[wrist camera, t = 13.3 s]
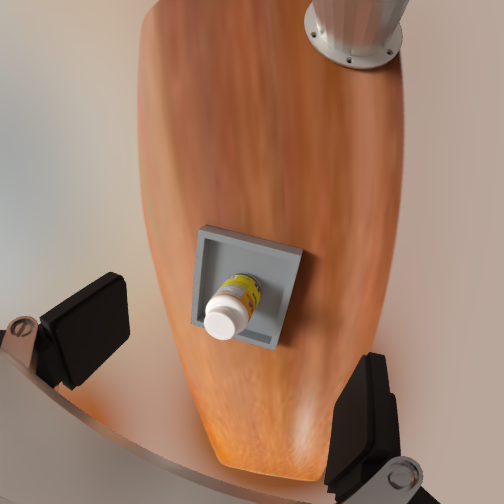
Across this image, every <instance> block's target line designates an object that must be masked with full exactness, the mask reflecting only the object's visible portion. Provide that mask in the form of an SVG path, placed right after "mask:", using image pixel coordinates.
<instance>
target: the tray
mask: <svg viewBox="0 0 504 504" xmlns="http://www.w3.org/2000/svg"><path fill="white" fill-rule="evenodd" d="M302 252H303V249H300V248H296V247H292V246H288V245H285V244H281V243H277V242H273V241H269V240H265V239H261V238H257V237H254V236H250V235H246V234H242V233H238V232H234V231H230V230H226V229H222V228H218V227H214V226H210V225H205V226H203V227H202V228H200V229H199V231H198V241H197V251H196V262H195V273H194V285H193V298H192V313H191V324H194V325H196V326H199V327H202V328H205V326H204V319H205V317H206V313H205V311H206V306H207V304H208V302H209V301H210V299H211V298H212V297H213V296H214V295H215V293H216V292H217V291H218V290H219V289H220V287H221V286H222V285H223V284H224V283H225V281H226V280H227V279H228V278H229V277H230V276H231V275H233V274H235V273H247V274H250V275H252V276H253V277H255V278H256V279H257V280H258V282H259V284H260V286H261V289H262V296H261V299H260V301H259V303H258V305H257V307H256V309H255V311H254V313H253V315H252V317H251V318H250V320H249V322H248V324H247V326H246V328H245V329H244V330H243V331H242V332H240V333H238V334H234V336H233V337H232V338H234V339H238V340H241V341H244V342H247V343H250V344H253V345H257V346H260V347H263V348H267V349H270V350H274V351H275V349H276V346H277V343H278V340H279V336H280V333H281V330H282V326H283V323H284V319H285V316H286V312H287V309H288V305H289V301H290V298H291V294H292V290H293V287H294V283H295V279H296V275H297V272H298V268H299V264H300V260H301V256H302Z"/></svg>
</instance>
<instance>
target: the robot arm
mask: <svg viewBox="0 0 504 504" xmlns="http://www.w3.org/2000/svg"><path fill="white" fill-rule="evenodd" d="M408 2H409V0H312V3H311V4H310V6H309V7H308V9H307V11H306V14H305V20H304V25H305V30H306V34H307V36H308V39H309V40H310V42H311V44H312V45H313V46H314V48H315V49H316V50H317V51H318V52H319V53H320V54H322V55H323V56H324V57H325V58H327V59H329V60H330V61H332V62H334V63H336V64H339V65H341V66H344V67H348V68H353V69H372V68H377V67H380V66H382V65H385V64H387V63H388V62H389V61H391V60H392V59H393V58H394V57H395V56H396V54H397V53H398V51H399V50H400V47H401V44H402V29H401V26H400V23H399V21H400V19H401V16H402V15H403V13H404V11H405V9H406V6H407V4H408ZM313 36H316V38H313ZM387 53H390V55H388V54H387ZM347 61H351V63H348V62H347ZM40 321H41V324H39V325H38V323H37V321H36V320H35V319H34V318H32V317H29V316H21V317H18V318H16V319H14V320H13V321H12V322H11V323H9V325H8V327H7V330H0V504H310V503H305V502H300V501H294V500H290V499H285V498H280V497H276V496H272V495H268V494H264V493H260V492H256V491H253V490H249V489H246V488H242V487H239V486H235V485H232V484H229V483H226V482H223V481H220V480H217V479H214V478H212V477H209V476H206V475H204V474H201V473H198V472H196V471H193V470H190V469H188V468H186V467H183V466H181V465H179V464H176V463H174V462H172V461H170V460H168V459H166V458H163V457H161V456H159V455H157V454H155V453H153V452H151V451H149V450H147V449H145V448H143V447H141V446H139V445H138V444H136V443H134V442H132V441H130V440H128V439H127V438H125V437H123V436H121V435H120V434H118V433H116V432H115V431H113V430H111V429H110V428H108V427H106V426H105V425H103V424H102V423H100V422H98V421H97V420H95V419H94V418H92V417H91V416H89V415H88V414H86V413H85V412H84V411H82V410H81V409H79V408H78V407H76V406H75V405H74V404H72V403H71V402H70V401H68V400H67V399H66V398H64V397H63V396H62V395H60V394H59V393H58V392H59V383H60V382H61V381H62V383H63V384H64V385H65V386H66V387H68V388H69V389H70V390H73V389H74V388H75V387H76V386H80V385H81V384H83V383H84V382H85V380H87V379H88V378H89V377H90V376H91V375H92V374H93V373H94V372H95V370H97V369H98V367H100V366H101V365H102V364H103V363H104V362H105V361H106V360H107V359H108V358H109V357H110V356H111V355H112V354H113V353H114V352H115V351H116V350H117V349H118V348H119V347H120V346H121V345H122V344H123V343H124V342H125V341H126V340H127V339H128V338H129V335H130V326H129V315H128V303H127V288H126V282H125V281H124V278H123V277H122V276H121V275H118V274H116V273H113V272H108V273H107V274H105V275H103V276H102V277H100V278H99V279H97V280H95V281H94V282H92V283H91V284H89V285H88V286H86V287H84V288H83V289H81V290H80V291H79V292H77V293H75V294H74V295H72V296H71V297H69V298H67V299H66V300H64V301H63V302H62V303H60V304H58V305H57V306H55V307H54V308H53V309H51V310H50V311H48V312H47V313H45V314H44V315H42V316H41V317H40ZM399 436H400V435H399V423H398V413H397V404H396V398H395V395H394V394H393V393H390V388H389V380H388V373H387V366H386V359H385V356H384V355H381V354H376V353H372V352H369V353H368V354H367V356H366V355H363V356H362V357H361V359H360V361H359V363H358V364H357V366H356V368H355V370H354V372H353V374H352V375H351V377H350V379H349V381H348V383H347V384H346V386H345V388H344V389H343V391H342V393H341V395H340V396H339V398H338V400H337V401H336V403H335V406H334V411H333V421H332V430H331V439H330V446H329V454H328V461H327V467H326V474H325V480H324V484H325V485H328V490H327V493H334V494H336V496H335V500H336V503H335V504H440V503H439V502H438V501H437V500H436V499H434V497H432V496H431V495H430V494H429V493H428V492H427V491H425V489H424V488H423V487H421V484H422V481H423V471H422V469H421V467H420V465H419V464H418V463H417V462H416V461H415V460H413V459H412V458H409V457H405V456H401V449H400V437H399Z"/></svg>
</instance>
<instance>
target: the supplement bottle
mask: <svg viewBox="0 0 504 504" xmlns="http://www.w3.org/2000/svg"><path fill="white" fill-rule="evenodd" d="M261 296H262V289H261V286H260V284H259V282H258V280H257V279H256V278H255V277H253V276H252V275H250V274H247V273H235V274H233V275H231V276H230V277H229V278H228V279H227V280H226V281H225V283H224V284H223V285H222V286H221V287H220V289H219V290H218V291H217V292H216V293H215V295H214V296H213V297H212V298H211V299H210V301H209V302H208V304H207V306H206V311H205V313H206V317H205V319H204V326H205V329H206V330H207V332H208V333H209V334H210V335H211V336H213V337H214V338H216V339H219V340H228V339H230V338H232V337H233V336H234V334H238V333H240V332H242V331H243V330H244V329H245V328H246V326H247V324H248V322H249V320H250V318H251V317H252V315H253V313H254V311H255V309H256V307H257V305H258V303H259V301H260V299H261Z"/></svg>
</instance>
